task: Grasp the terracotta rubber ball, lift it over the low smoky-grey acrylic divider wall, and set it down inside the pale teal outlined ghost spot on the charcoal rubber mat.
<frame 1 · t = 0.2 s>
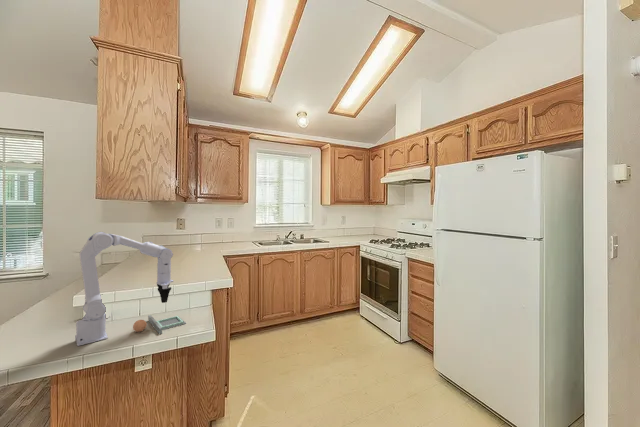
hand: (163, 300, 130), 10 cm above the countertop, fingers open, 7 cm apart
ball: (139, 325, 118), point 2 cm above the countertop
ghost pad: (169, 323, 127), on the countertop
acrylic wall: (154, 326, 123), on the countertop
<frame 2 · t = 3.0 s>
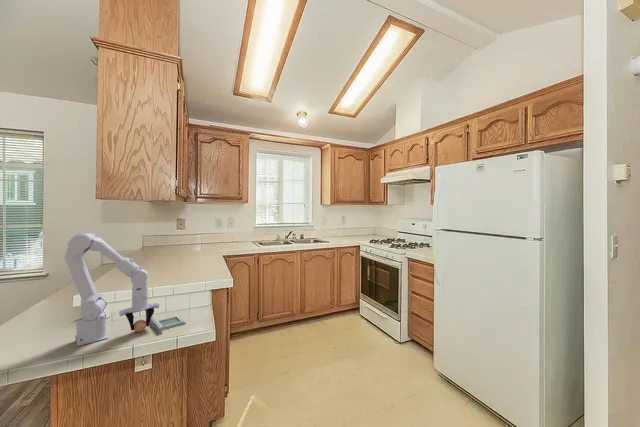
hand: (139, 327, 118), 2 cm above the countertop, fingers closed on ball, 5 cm apart
ball: (139, 325, 118), point 2 cm above the countertop, touching gripper
everything else where it was.
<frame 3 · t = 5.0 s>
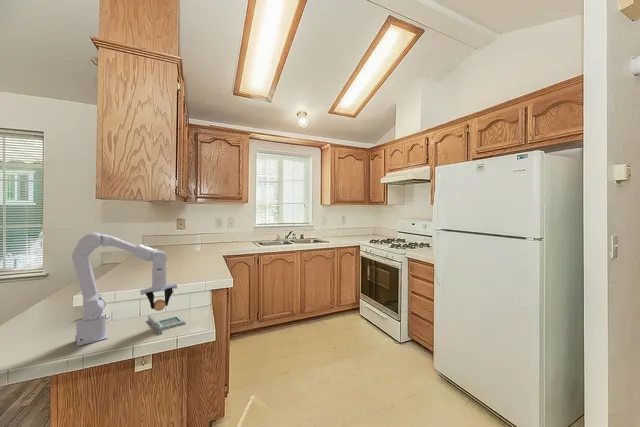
hand: (159, 306, 123), 9 cm above the countertop, fingers closed on ball, 5 cm apart
ball: (159, 305, 123), point 10 cm above the countertop, touching gripper
everything else where it was.
when the fingers open (3 cm above the countertop, at t = 7.4 s): ball drops 1 cm, resting on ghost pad.
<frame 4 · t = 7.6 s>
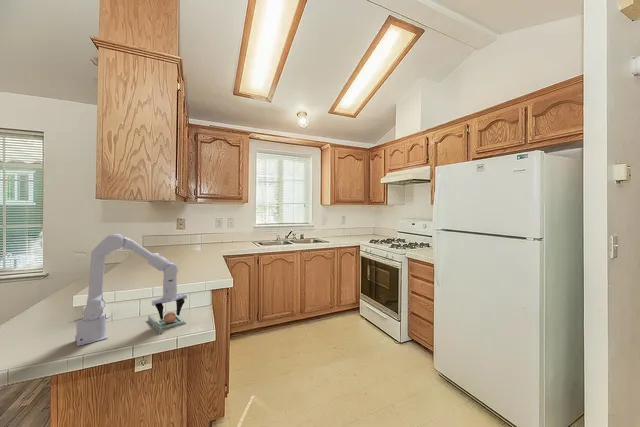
hand: (169, 317, 127), 3 cm above the countertop, fingers open, 6 cm apart
ball: (169, 317, 127), point 3 cm above the countertop, touching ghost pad
everything else where it was.
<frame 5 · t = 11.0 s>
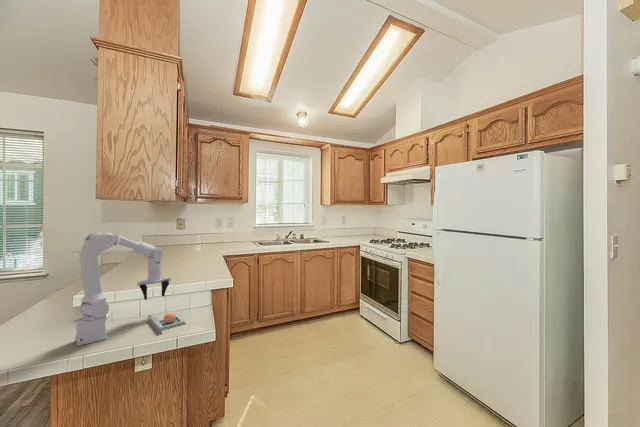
hand: (154, 297, 135), 9 cm above the countertop, fingers open, 7 cm apart
nothing on the countertop moved.
at the end: ball 0.0 cm off-centre on the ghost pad, point 2.8 cm above the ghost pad's base; the gripper is holding nothing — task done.
